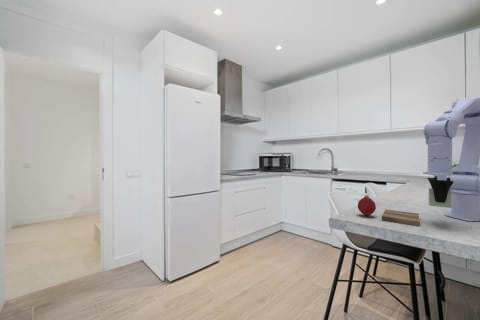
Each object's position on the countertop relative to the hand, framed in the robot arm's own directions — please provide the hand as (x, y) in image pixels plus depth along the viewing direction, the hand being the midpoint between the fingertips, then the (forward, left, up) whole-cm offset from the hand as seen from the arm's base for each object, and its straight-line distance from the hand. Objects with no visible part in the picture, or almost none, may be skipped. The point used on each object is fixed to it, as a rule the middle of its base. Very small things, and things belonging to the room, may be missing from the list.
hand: (439, 200), depth 69 cm
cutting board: (+6, -8, -8) cm, 13 cm away
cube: (0, 0, -1) cm, 1 cm away
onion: (+16, -13, -8) cm, 22 cm away
